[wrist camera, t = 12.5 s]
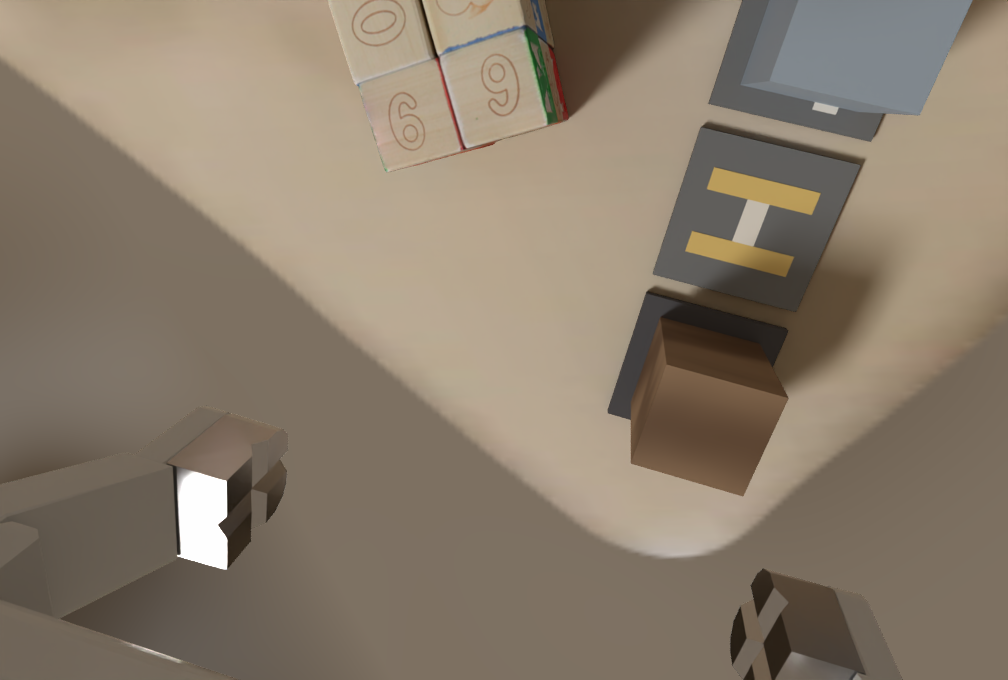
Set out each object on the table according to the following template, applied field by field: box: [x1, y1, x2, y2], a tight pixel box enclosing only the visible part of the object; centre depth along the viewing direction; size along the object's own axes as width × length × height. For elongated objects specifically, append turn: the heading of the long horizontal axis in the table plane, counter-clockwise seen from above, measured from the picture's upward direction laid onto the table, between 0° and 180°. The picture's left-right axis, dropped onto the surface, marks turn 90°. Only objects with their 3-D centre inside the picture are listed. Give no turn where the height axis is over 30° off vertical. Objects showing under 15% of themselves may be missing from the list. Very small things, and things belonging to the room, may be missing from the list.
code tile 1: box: [653, 127, 861, 312], centre depth 28 cm, size 7×7×1 cm
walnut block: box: [631, 317, 788, 496], centre depth 29 cm, size 5×5×6 cm
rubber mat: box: [608, 292, 788, 420], centre depth 31 cm, size 7×7×1 cm
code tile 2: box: [708, 0, 883, 142], centre depth 25 cm, size 7×7×1 cm
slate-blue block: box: [740, 0, 973, 115], centre depth 22 cm, size 5×5×6 cm
